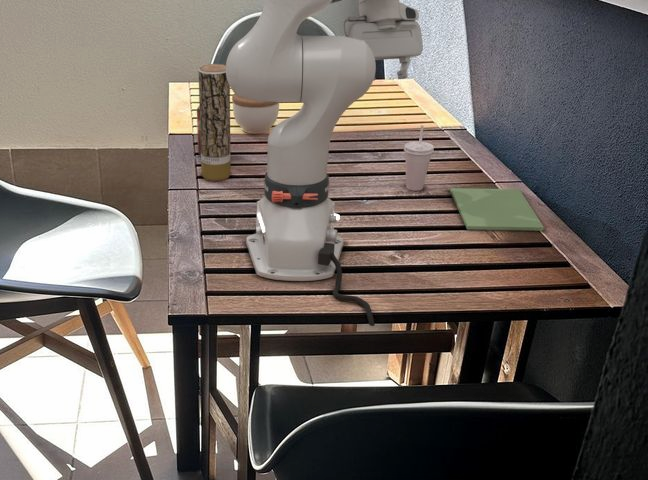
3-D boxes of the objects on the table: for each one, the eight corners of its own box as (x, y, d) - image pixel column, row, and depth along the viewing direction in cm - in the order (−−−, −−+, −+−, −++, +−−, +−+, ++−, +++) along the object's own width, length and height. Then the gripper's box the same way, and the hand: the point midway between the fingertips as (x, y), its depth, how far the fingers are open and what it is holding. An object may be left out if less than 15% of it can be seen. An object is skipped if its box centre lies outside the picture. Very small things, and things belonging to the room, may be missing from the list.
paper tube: (227, 183, 185) (226, 72, 172) (198, 181, 186) (195, 71, 173) (233, 172, 191) (232, 64, 178) (205, 170, 192) (202, 63, 179)
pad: (543, 230, 161) (544, 227, 161) (466, 229, 162) (467, 225, 162) (519, 192, 178) (519, 189, 178) (449, 191, 179) (450, 188, 179)
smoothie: (433, 185, 182) (440, 124, 175) (422, 195, 178) (430, 133, 170) (406, 180, 185) (412, 120, 178) (395, 189, 181) (401, 128, 173)
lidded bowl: (254, 140, 210) (254, 97, 205) (222, 129, 218) (222, 88, 213) (288, 129, 217) (290, 88, 212) (256, 119, 226) (257, 79, 220)
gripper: (352, 12, 170) (359, 80, 172) (424, 11, 180) (430, 74, 182) (333, 20, 175) (341, 85, 178) (404, 18, 185) (410, 79, 187)
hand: (386, 80), depth 180 cm, fingers open, 8 cm apart
